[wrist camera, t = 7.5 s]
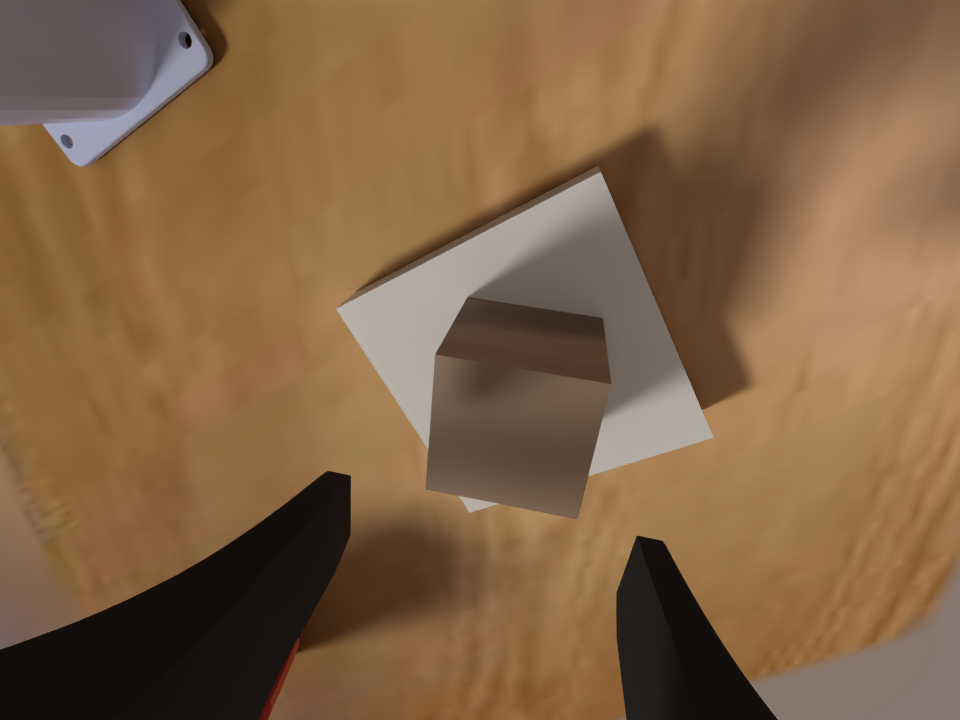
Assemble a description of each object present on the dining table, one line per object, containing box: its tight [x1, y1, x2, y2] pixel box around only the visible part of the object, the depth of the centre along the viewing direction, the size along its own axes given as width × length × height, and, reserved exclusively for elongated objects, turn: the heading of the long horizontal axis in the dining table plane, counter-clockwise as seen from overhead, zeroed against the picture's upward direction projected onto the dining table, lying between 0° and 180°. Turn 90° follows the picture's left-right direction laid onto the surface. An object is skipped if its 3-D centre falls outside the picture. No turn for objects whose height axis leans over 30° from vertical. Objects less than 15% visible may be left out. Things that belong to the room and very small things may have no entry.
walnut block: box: [426, 297, 611, 519], centre depth 18 cm, size 5×5×5 cm
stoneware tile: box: [336, 165, 713, 512], centre depth 21 cm, size 11×11×2 cm
